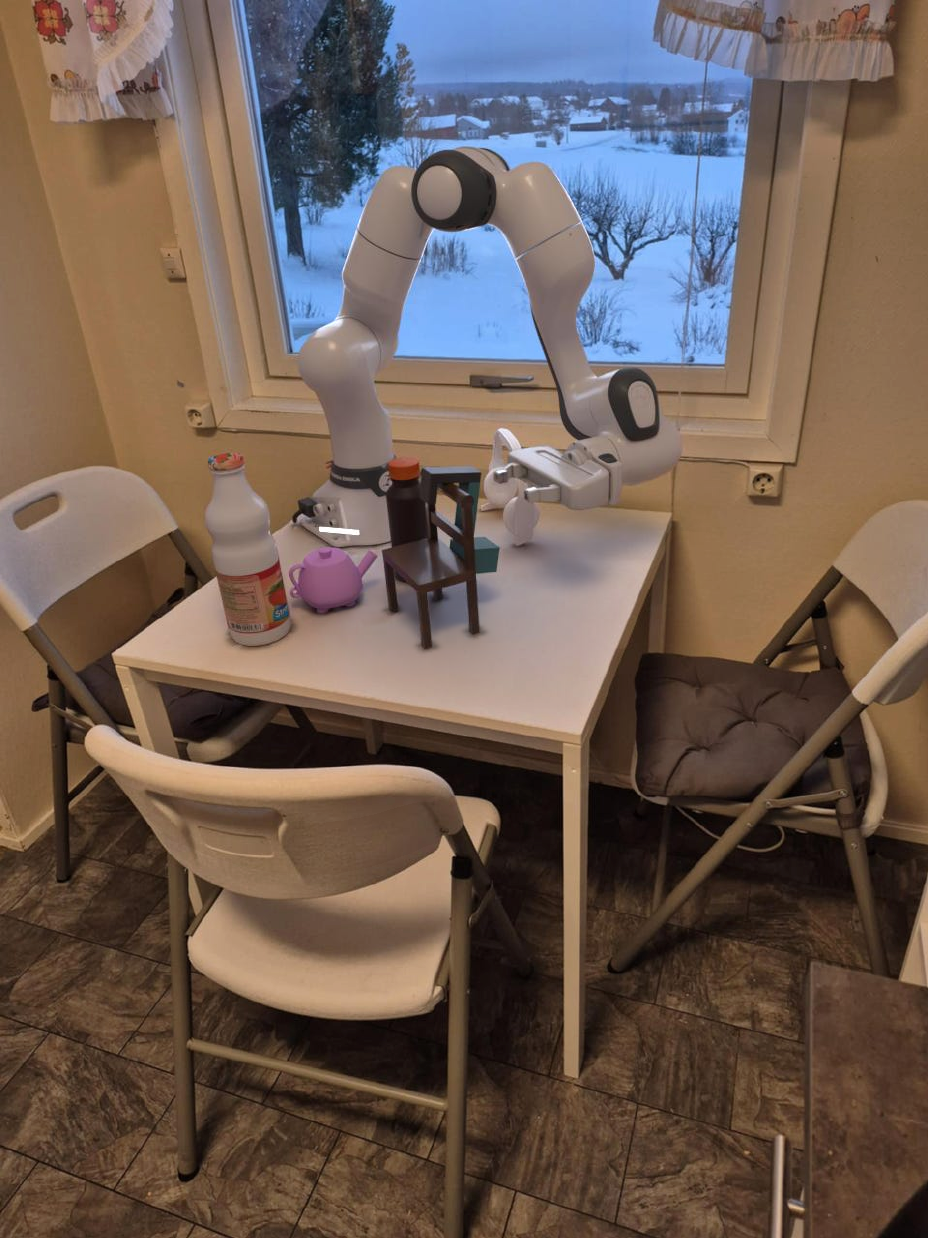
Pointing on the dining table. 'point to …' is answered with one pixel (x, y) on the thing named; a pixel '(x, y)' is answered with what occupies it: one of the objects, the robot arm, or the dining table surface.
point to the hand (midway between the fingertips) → (510, 486)
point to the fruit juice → (245, 556)
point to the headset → (510, 492)
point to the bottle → (405, 503)
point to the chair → (436, 562)
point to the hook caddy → (471, 484)
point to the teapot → (329, 578)
